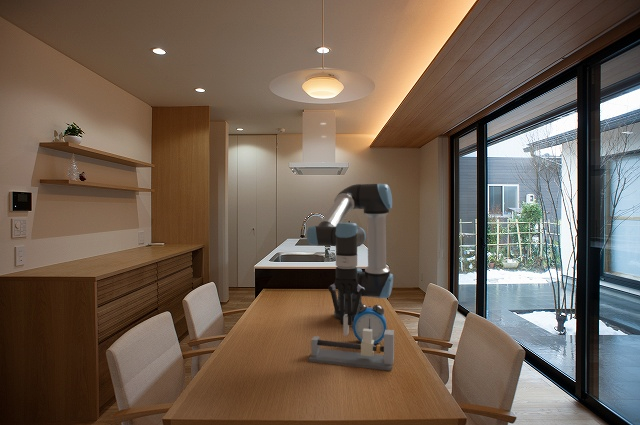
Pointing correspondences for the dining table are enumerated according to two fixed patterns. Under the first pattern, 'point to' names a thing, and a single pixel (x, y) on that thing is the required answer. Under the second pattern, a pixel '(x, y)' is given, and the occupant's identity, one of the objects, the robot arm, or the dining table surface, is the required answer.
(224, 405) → the dining table surface
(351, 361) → the slider rail fixture
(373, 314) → the alarm clock
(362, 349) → the sleeve
